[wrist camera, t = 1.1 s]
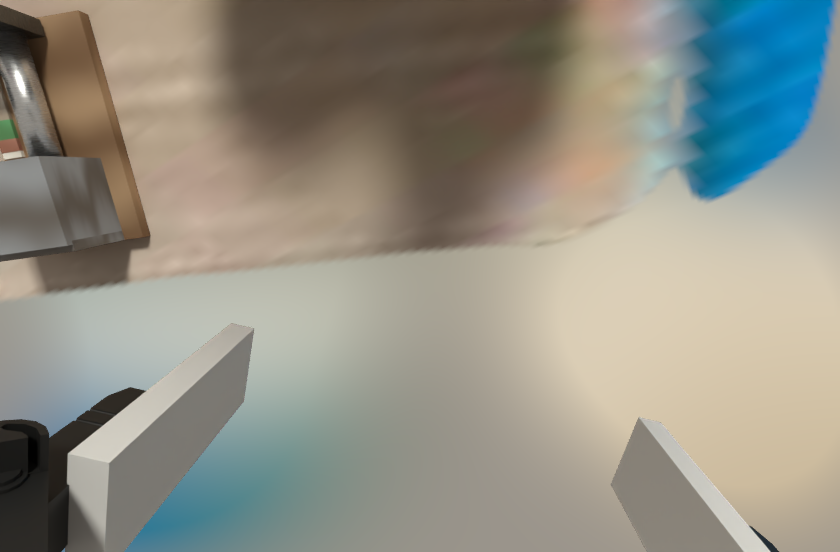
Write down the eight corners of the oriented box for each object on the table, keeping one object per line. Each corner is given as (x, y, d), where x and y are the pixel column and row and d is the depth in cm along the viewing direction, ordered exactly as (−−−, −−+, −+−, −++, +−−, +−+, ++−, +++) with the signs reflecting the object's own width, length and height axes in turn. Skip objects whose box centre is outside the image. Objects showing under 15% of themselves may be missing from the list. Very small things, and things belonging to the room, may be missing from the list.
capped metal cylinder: (-30, 32, 35) (-89, 14, 31) (40, 19, 34) (-10, 0, 31) (19, 176, 37) (-29, 177, 34) (84, 166, 37) (43, 165, 33)
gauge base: (-28, 35, 36) (-135, 4, 29) (87, 14, 35) (5, -22, 29) (45, 250, 40) (-34, 266, 33) (150, 235, 40) (91, 249, 33)
